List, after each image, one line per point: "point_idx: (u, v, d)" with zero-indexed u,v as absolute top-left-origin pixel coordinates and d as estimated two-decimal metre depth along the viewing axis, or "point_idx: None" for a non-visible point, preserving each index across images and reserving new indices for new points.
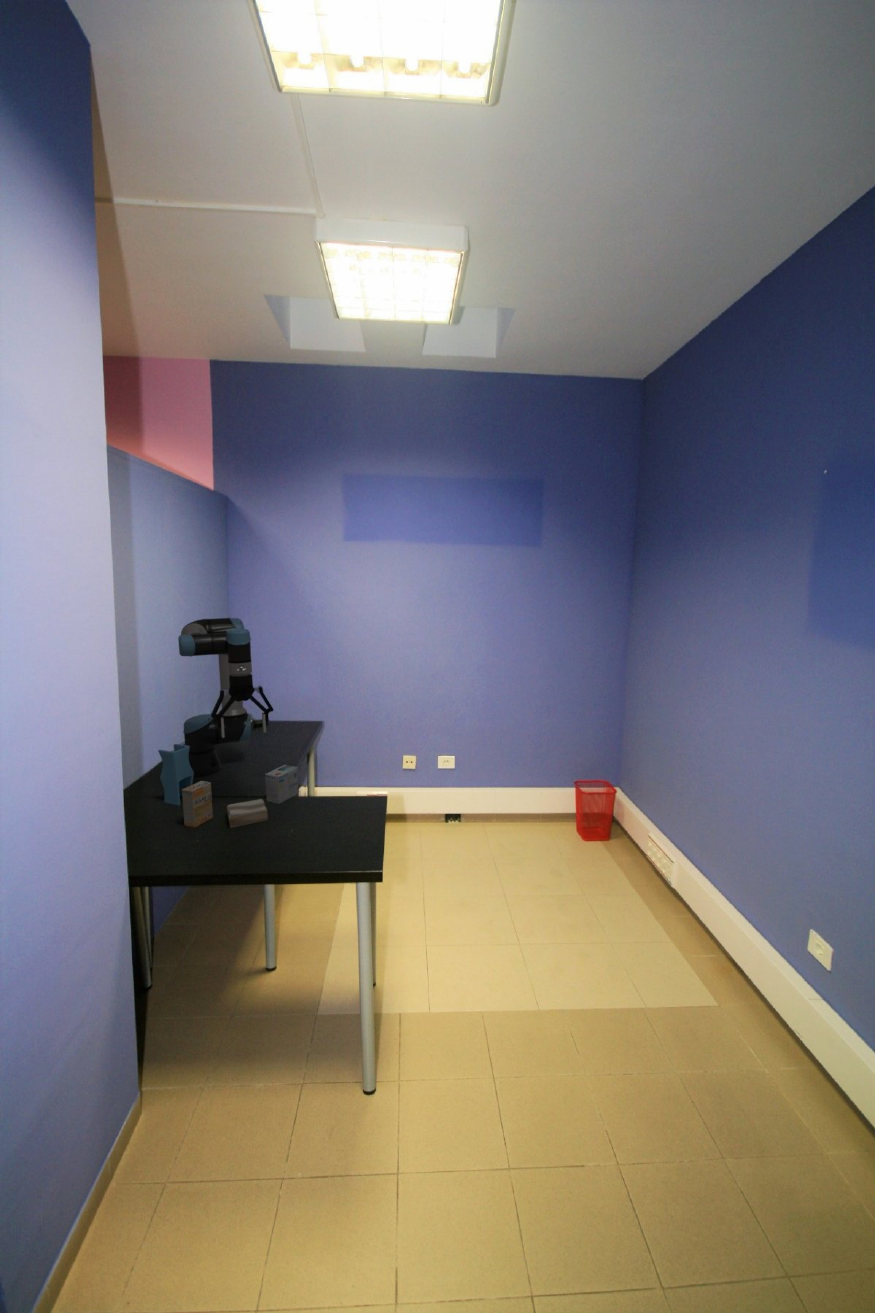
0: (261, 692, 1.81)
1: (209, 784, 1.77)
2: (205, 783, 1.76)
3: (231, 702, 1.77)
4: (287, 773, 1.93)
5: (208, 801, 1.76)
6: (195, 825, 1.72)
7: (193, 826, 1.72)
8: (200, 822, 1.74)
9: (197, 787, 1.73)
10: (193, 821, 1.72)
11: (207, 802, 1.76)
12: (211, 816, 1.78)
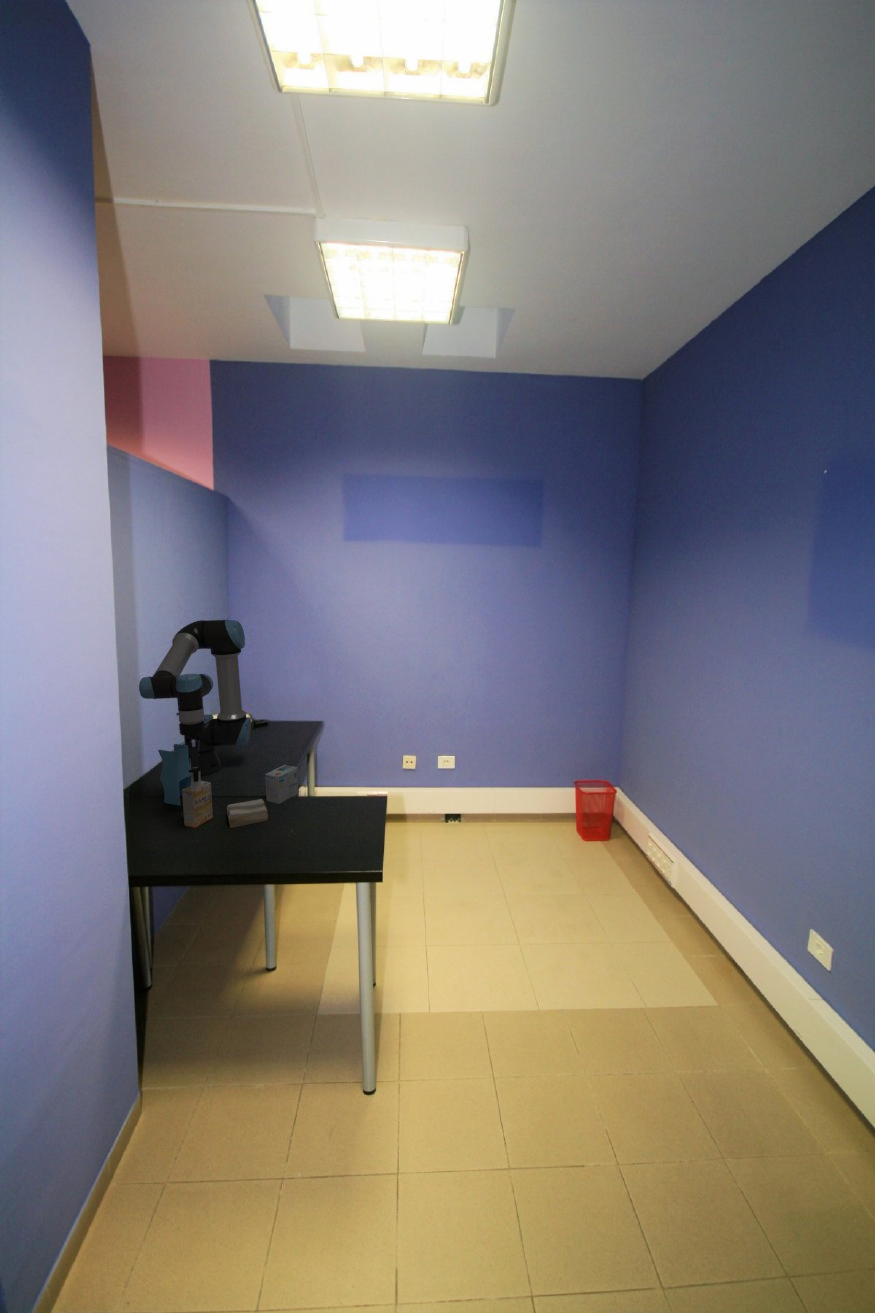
0: (189, 747, 1.66)
1: (209, 784, 1.77)
2: (205, 783, 1.76)
3: None
4: (287, 773, 1.93)
5: (208, 801, 1.76)
6: (195, 825, 1.72)
7: (193, 826, 1.72)
8: (200, 822, 1.74)
9: None
10: (193, 821, 1.72)
11: (207, 802, 1.76)
12: (211, 816, 1.78)
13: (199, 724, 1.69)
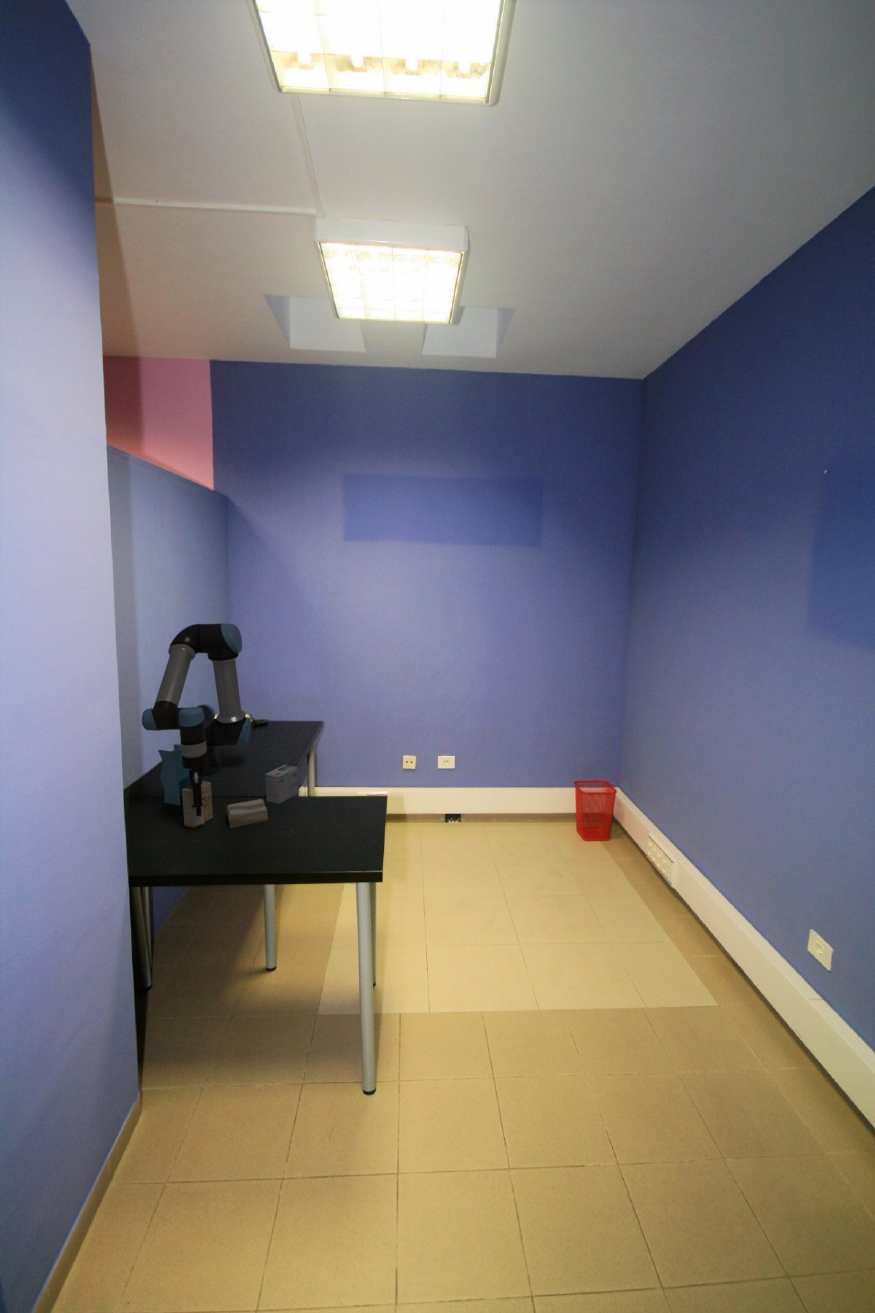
0: (192, 783, 1.68)
1: (209, 784, 1.77)
2: (205, 783, 1.76)
3: None
4: (287, 773, 1.93)
5: (208, 801, 1.76)
6: (195, 825, 1.72)
7: (193, 826, 1.72)
8: None
9: None
10: (193, 821, 1.72)
11: (207, 801, 1.76)
12: (211, 816, 1.78)
13: (201, 757, 1.71)
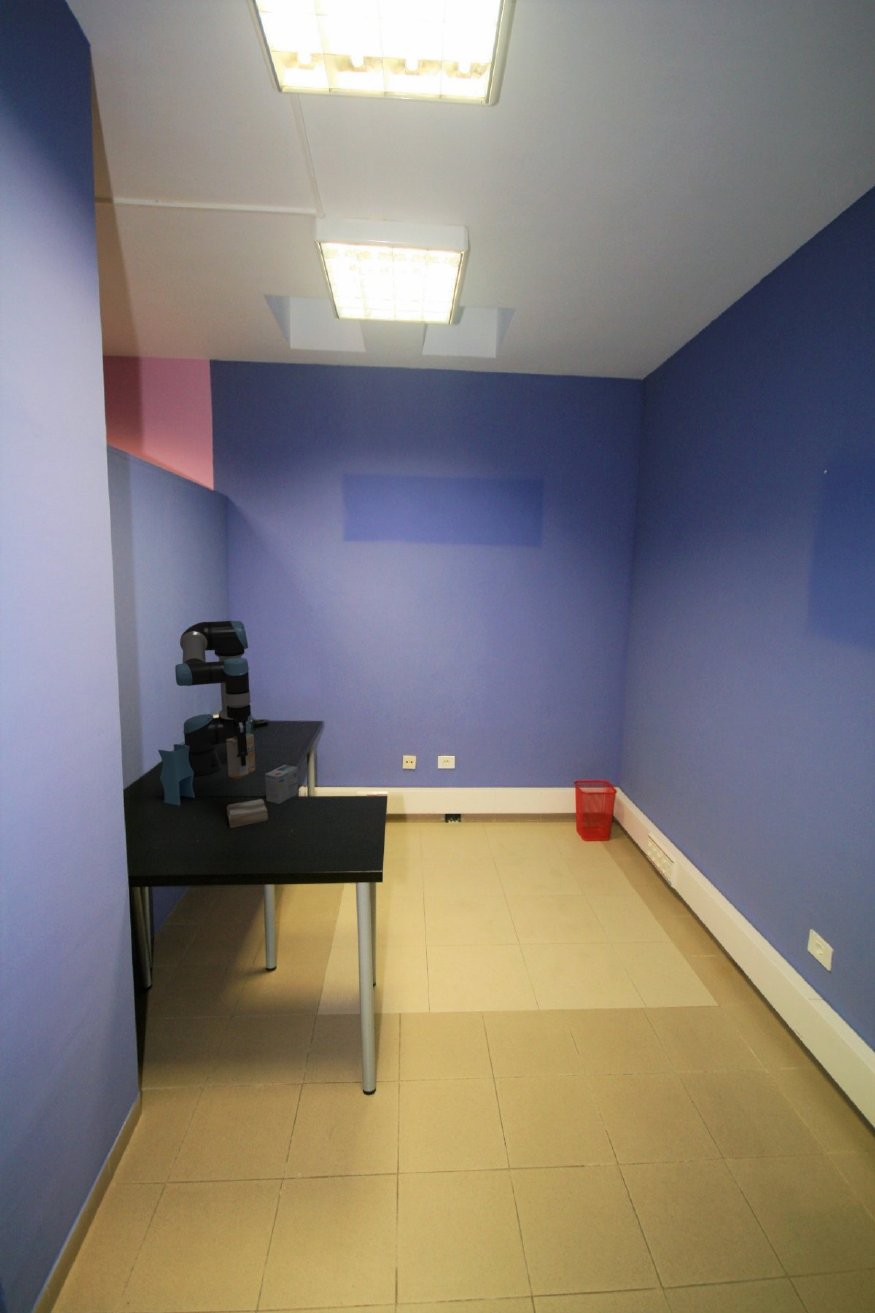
0: (237, 732, 1.68)
1: (252, 736, 1.77)
2: (248, 735, 1.76)
3: None
4: (287, 773, 1.93)
5: (251, 753, 1.77)
6: (239, 775, 1.72)
7: (237, 776, 1.72)
8: None
9: None
10: (237, 771, 1.72)
11: (250, 753, 1.76)
12: (254, 768, 1.79)
13: (246, 707, 1.71)
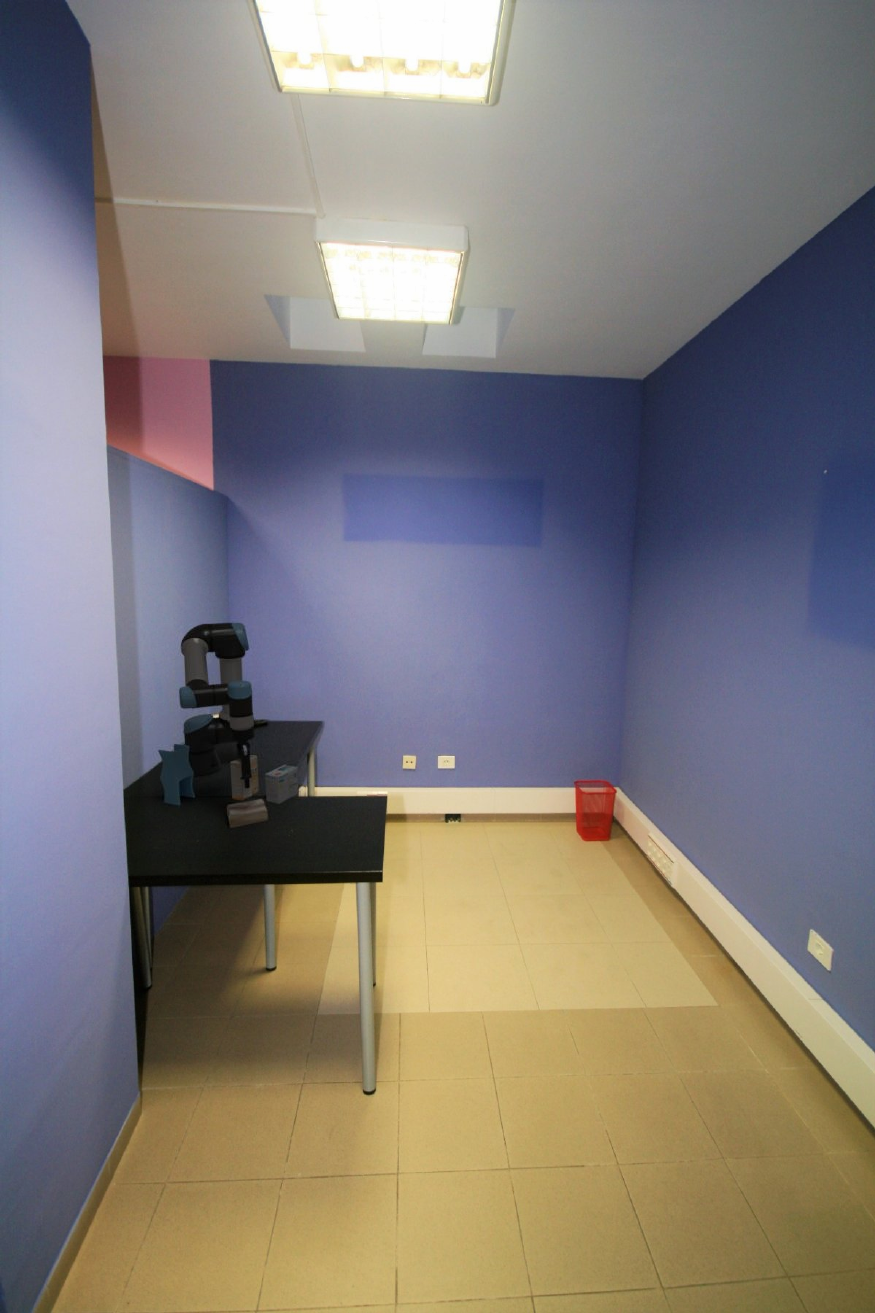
0: (241, 755, 1.70)
1: (256, 757, 1.78)
2: (252, 756, 1.78)
3: None
4: (287, 773, 1.93)
5: (255, 774, 1.78)
6: None
7: (241, 798, 1.73)
8: None
9: None
10: (241, 794, 1.73)
11: (254, 775, 1.78)
12: (257, 789, 1.80)
13: (250, 730, 1.73)
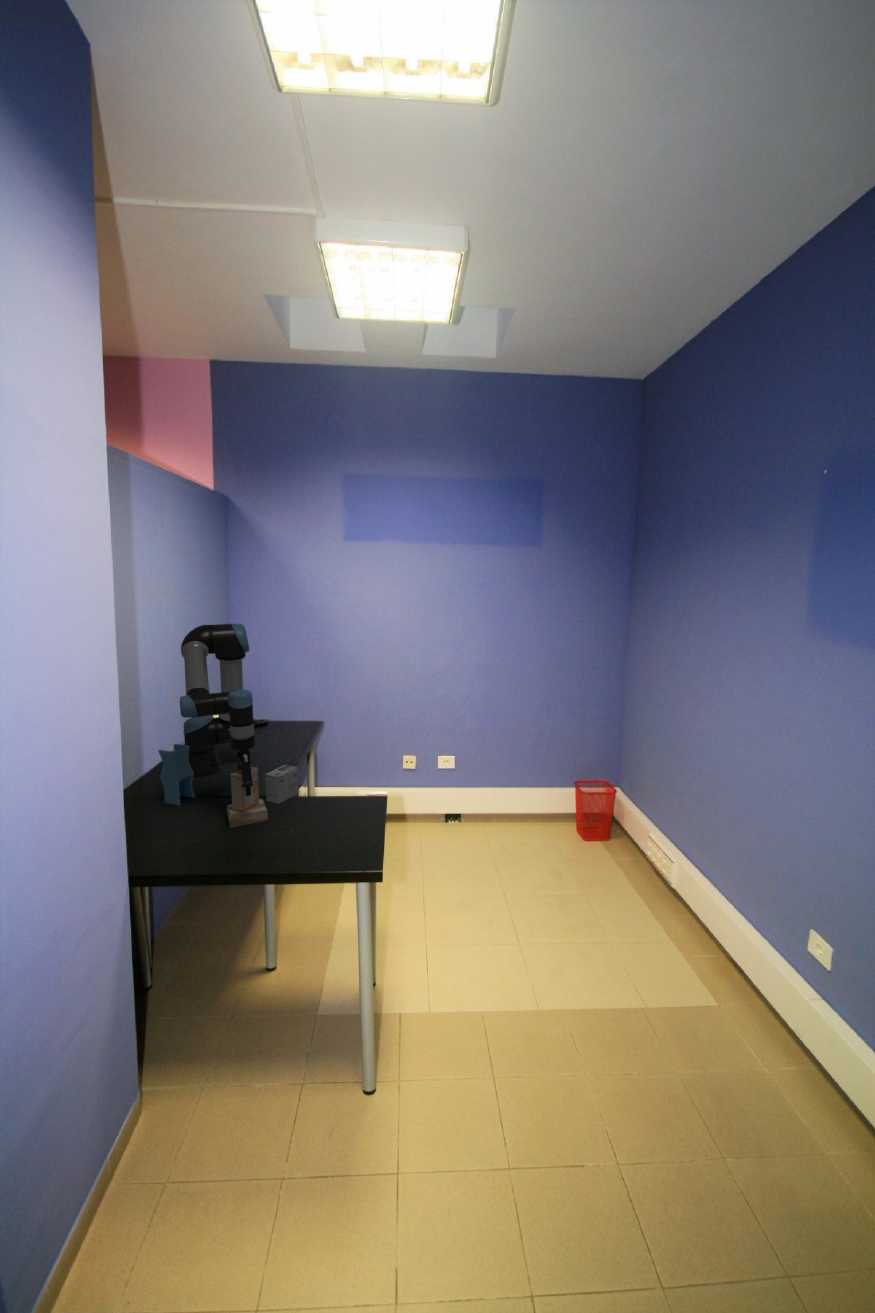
0: (242, 762, 1.70)
1: (256, 769, 1.79)
2: (252, 768, 1.79)
3: None
4: (287, 773, 1.93)
5: (255, 786, 1.79)
6: (243, 809, 1.74)
7: (241, 810, 1.74)
8: (248, 806, 1.77)
9: None
10: (240, 805, 1.74)
11: (254, 786, 1.78)
12: (257, 801, 1.81)
13: (250, 739, 1.73)
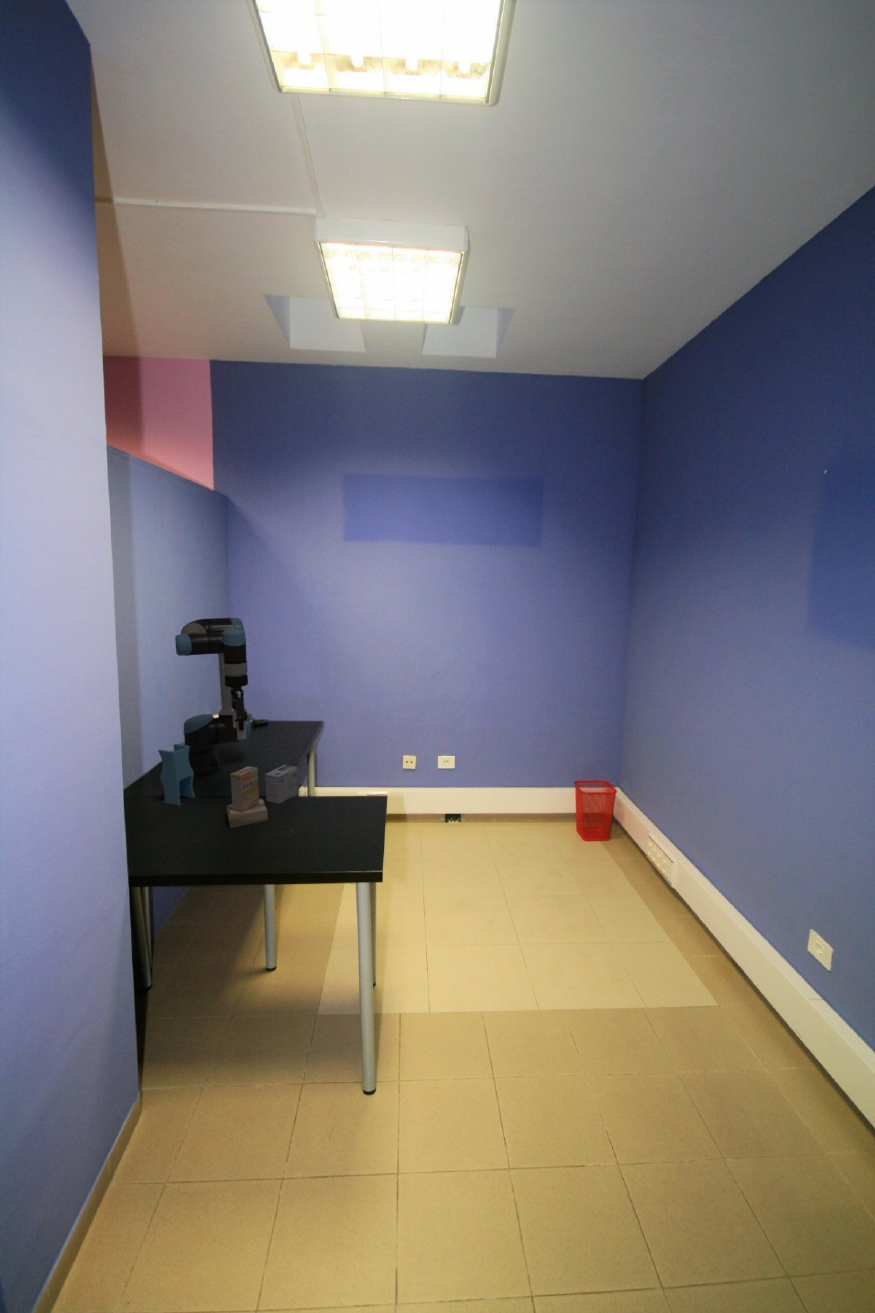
0: (235, 698, 1.75)
1: (256, 769, 1.79)
2: (252, 768, 1.79)
3: None
4: (287, 773, 1.93)
5: (255, 786, 1.79)
6: (243, 809, 1.74)
7: (241, 810, 1.74)
8: (248, 806, 1.77)
9: (245, 772, 1.75)
10: (240, 805, 1.74)
11: (254, 787, 1.78)
12: (257, 801, 1.81)
13: (243, 677, 1.79)
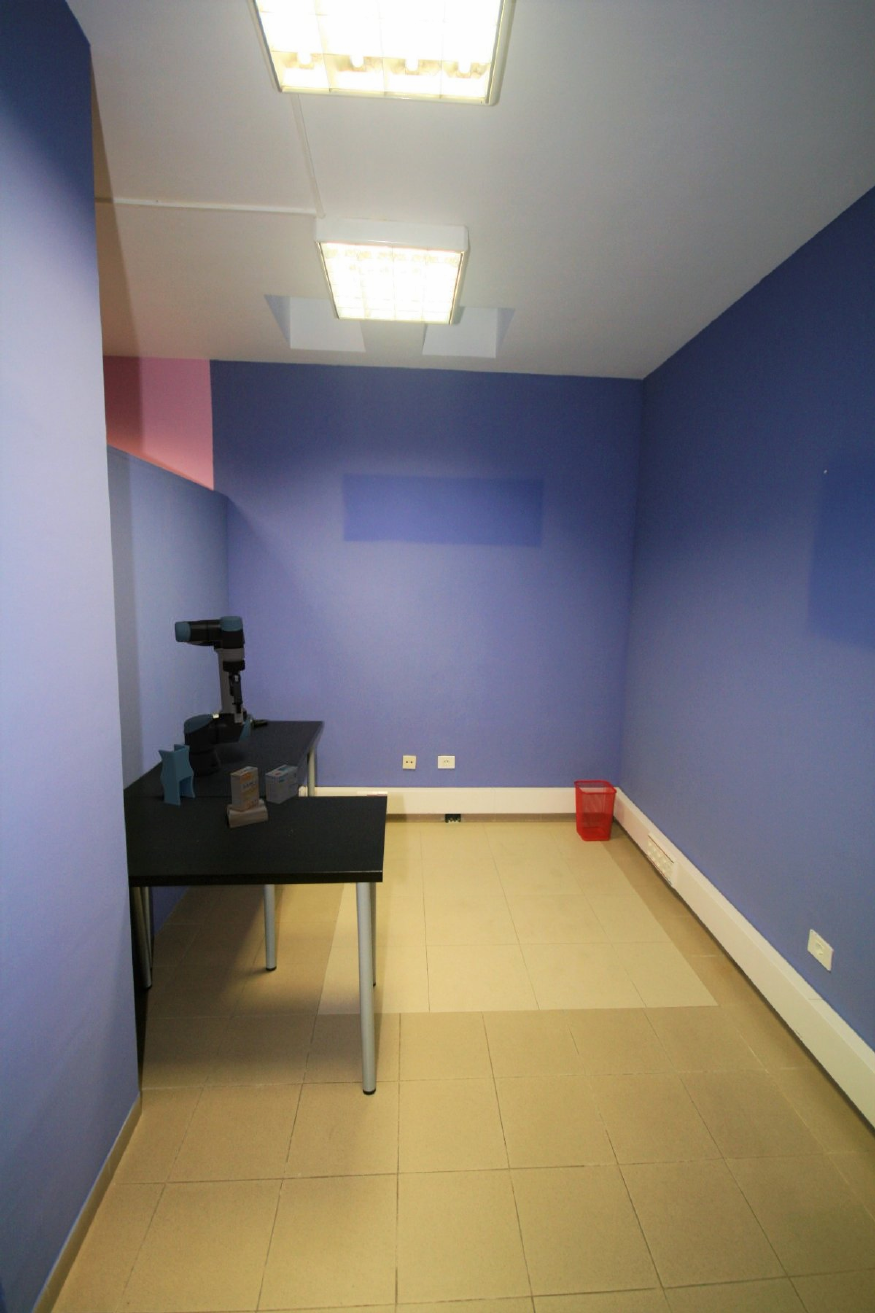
0: (232, 681, 1.80)
1: (256, 769, 1.79)
2: (252, 768, 1.79)
3: None
4: (287, 773, 1.93)
5: (255, 786, 1.79)
6: (243, 809, 1.74)
7: (241, 810, 1.74)
8: (248, 806, 1.77)
9: (245, 772, 1.75)
10: (240, 805, 1.74)
11: (254, 787, 1.78)
12: (257, 801, 1.81)
13: (241, 662, 1.84)
